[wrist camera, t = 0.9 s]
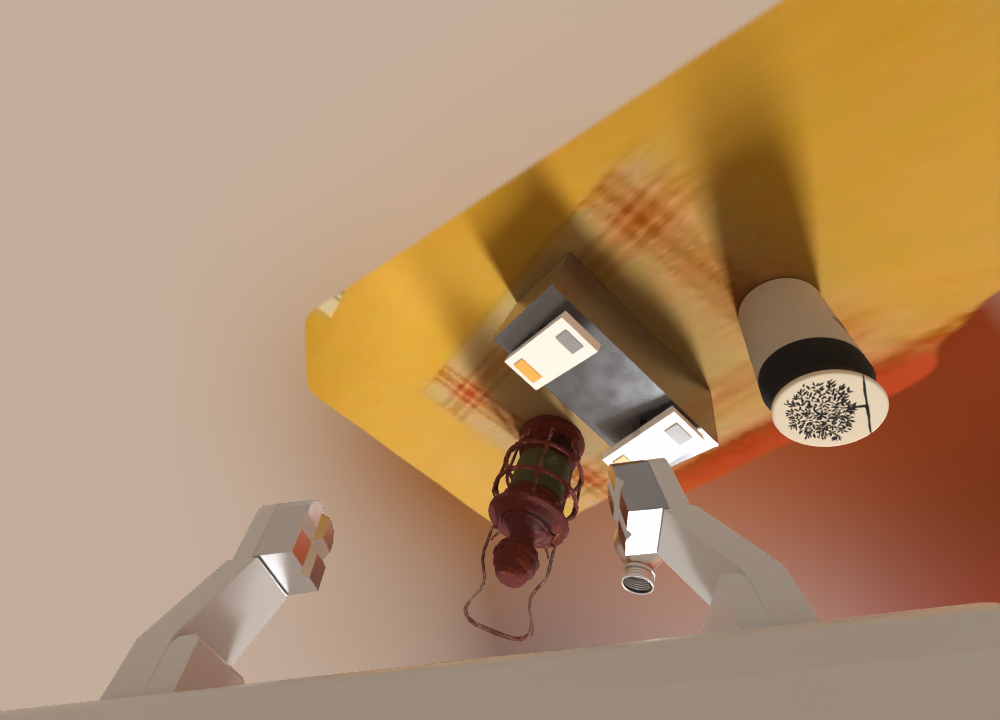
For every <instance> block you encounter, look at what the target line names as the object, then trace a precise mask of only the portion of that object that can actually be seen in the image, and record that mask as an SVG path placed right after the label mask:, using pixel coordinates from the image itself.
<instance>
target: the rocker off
mask: <svg viewBox="0 0 1000 720" xmlns="http://www.w3.org/2000/svg"><path fill="white" fill-rule="evenodd" d="M704 442H705V439H704V437H703V435H702V434H701V433H700V432H699V431H698V430H697V429H696V428H695V427H694V426H693V425H692V424H691V423H690V422H689V421H688V420H687V419H686V418H685V417H684V416H683V415H682V414H681V413H680V412H679V411H677V410H676V409H675V408H674V407H673V406H671V407H669V408H668V409H666V410H665V411H664V412H662V413H661V414H659V415H658V416H656V417H655V418H653V419H652V420H650V421H649V422H647V423H646V424H644V425H643V426H642V427H640V428H639V429H637V430H636V431H634V432H633V433H631V434H630V435H628V436H627V437H625V438H624V439H622V440H621V441H620V442H618V443H617V444H615V445H614V446H612V447H611V448H609V449H608V450H606V451H605V452H603V453H602V460H603V461H604V462H605V463H606V464H607V465H608V466H609V464H615V463H622V462H630V461H637V460H647V459H655V458H663V457H664V458H665V459H666V460H667V461H668V463H671V462H672V461H674V460H676V459H677V458H679V457H681V456H682V455H684V454H686V453H687V452H689V451H690V450H692V449H694V448H695V447H697V446H699V445H700V444H702V443H704Z"/></svg>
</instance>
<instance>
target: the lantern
mask: <svg viewBox="0 0 1000 720" xmlns="http://www.w3.org/2000/svg"><path fill="white" fill-rule="evenodd" d="M584 448H585V444H584V439H583V437H582V435H581V433H580V431H579V430H578V429H577V428H576V427H575V426H574V425H572V424H571V423H570V422H568V421H566V420H564V419H562V418H560V417H555V416H547V415H543V416H537V417H534V418H532V419H530V420H528V421H527V422H526V423H525V424H524V425H523V427H522V429H521V432H520V439H519V442H516V443H515V444H514V445H512V446H511V447H510V448H509V449H508V451H507V452H506V455H505V457H504V462H503V466H502V468H501V471H500V473H499V474H498V475H497V477H496V479H495V482H494V483H493V485H494V486H493V489H492V493H493V496H494V498H493V499H492V501H491V502H490V505H489V510H488V512H489V517H490V519H491V521H492V523H493V525H494V526H491V529H490V531H489V534H488V537H487V540H486V543H485V545H484V548H483V551H482V556H481V562H482V569H483V582H482V585H481V587H480V589H479V590H478V591H477V592H476V593H475V594H474V595H473V596H472V597H471V598H470V599H469V600H468V602H467V603H466V604H465V606H464V614H465V616H466V618H467V619H468V621H469V622H470V623H472V624H473V625H474V626H475V627H478V628H480V629H482V630H485V631H487V632H489V633H491V634H494V635H497V636H500V637H503V638H506V639H509V640H512V641H523V640H526V639H528V638H529V637H530V636H532V634H533V621H532V614H531V609H530V607H531V600H532V598H533V596H534V594H535V593H536V592H537V590H538V589H539V588H540V587H541V586H542V585H543V584H544V583H545V582H546V580H547V578H548V576H549V574H550V570H551V566H552V562H553V558H554V554H555V550H556V547H555V546H558V545H559V544H561V543H563V542H564V540H565V539H566V537H567V536H568V531H569V526H568V521H570V520H572V519H573V518H575V516H576V514H577V513H578V509H579V506H578V501H579V496H580V490H581V487H582V485H583V483H584V473H583V469H582V467H581V465H580V463H579V461H580V460H581V456H582V455H583V452H584ZM515 450H516V451H515ZM518 450H519V454H520V458H519V460H518V462H517V465H515V466H512V465H513V463H514V460H515V458H516V455H517V452H518ZM514 451H515V453H514V455H513V458H512V460H511V462H510V465H509V463H508V461H509V457H510V455H511V453H512V452H514ZM576 466H577V468H578V470H579V473H580V474H579V481H578V484H577V486H576V487H575V488H574V489H572V487H571V486H570V485H571V483H570V482H571V477H572V472H573V470H574V469H575V467H576ZM504 468H505V470H504ZM514 470H515V471H514ZM511 471H514V474H512V473H511ZM504 474H506V483H507V486H508V488H507V489H505V491H504V492H503V493H501V494H499V491H498V484H499V481H500V478H501V477H502V476H503V475H504ZM509 477H510V478H511V483H509ZM568 491H569V492H568ZM576 492H577V496H576V494H575V493H576ZM570 496H572V498H573V500H574V506H573V510H572V513H571V514H570V515H569V516H568V517H567V518H565V516H564V514H563V511H564V507H565V503H566V499H567V497H570ZM493 528H494V529H495V528H496V529H498V532H497V533H496V534H495V535H494V536H493V537H495V536H497V535H498V534H499V532H501V533H502V534H503V535H504V536H506V537H507V538H505V539H502V540H501V541H500V542H499V544H498V545H496V546H495V548H494V551H493V554H494V559H493V565H494V566H495V573H496V576H497V578H498V580H499V581H500V582H501V583H503V584H505V585H506V586H508V587H511V588H519V587H522V586H524V585H525V583H526V582H527V581H528V580H530V579H532V578H533V576H534V575H535V573H536V571H537V570H538V568H539V565H540V564H539V560H538V552H537V551H536V549H535V548H545V551H546V553H547V558H548V559H549V555H548V550H547V548H552V547H553V550H552V552H551V557H550V561H549V565H548V569H547V573H546V577H545V578H544V579H543V581H542V582H541V583H540V584H539V585H538V586H537V587H536V588H535V590H534V591H533V592H532V594H531V596H530V598H529V604H528V609H529V617H530V630H529V633H528V634H526V635H525V636H523V637H513V636H510V635H507V634H504V633H502V632H499V631H497V630H494V629H492V628H489V627H487V626H484V625H481V624H479V623H477V622H475V621H474V620H473V619H472V618H471V617H470V616H469V614H468V611H467V609H468V606H469V604H470V602H471V601H472V600H473V599H474V598H475V596H476V595H477V594H478V593H479V592H480V591H481V590H482V588H483V586H484V584H485V579H486V572H485V564H484V557H485V551H486V548H487V545H488V542H489V540H490V536H491V534H492V530H493ZM493 537H492V539H491V540H493Z"/></svg>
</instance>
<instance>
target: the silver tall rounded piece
mask: <svg viewBox="0 0 1000 720" xmlns="http://www.w3.org/2000/svg"><path fill="white" fill-rule="evenodd" d="M613 541H614V547H615V550H616V553H617V555H618V557H619V558H620V560H621V561H622V563H623V565H622V568H621V573H622V578H621V582H622V586H623V587H624V588H625V589H626V590H628V591H630V592H632V593H635V594H641V595H642V594H649V593H651V592H652V591H653V589H654V580H655V571H654V569H655V568H656V567H657V566H658V565H659V564H660V563H661V562H662V561H663V559H662V558H660V557H659V556H658V555H657V553H649V554H638V555H626V556H625V553H624V550H623V547H622V544H621V541H620V538H619V535H618V523H617V527H616V530H615V534H614V540H613Z"/></svg>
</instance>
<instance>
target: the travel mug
mask: <svg viewBox="0 0 1000 720" xmlns="http://www.w3.org/2000/svg"><path fill="white" fill-rule="evenodd" d="M738 319H739V324H740V327H741V330H742V333H743V337H744V340H745V343H746V346H747V350H748V353H749V356H750V360H751V363H752V366H753V369H754V373H755V376H756V379H757V382H758V386H759V389H760V392H761V395H762V399H763V401H764V403H765V404H766V406H767V407H768V408H769V409H770V410H771V416H772V420H773V422H774V424H775V426H776V427H777V429H778V430H779V431H780V432H781V433H782V434H784V435H785V436H786V437H788V438H790V439H792V440H794V441H796V442H799V443H802V444H806V445H811V446H822V447H824V446H825V447H828V446H838V445H844V444H848V443H851V442H854V441H857V440H859V439H861V438H863V437H865V436H867V435H869V434H870V433H872V432H873V431H874V430H876V429H877V428H878V427H879V426H880V425H881V423H882V422H883V421H884V419H885V417H886V415H887V412H888V408H889V402H888V397H887V394H886V392H885V390H884V389H883V388H882V386H881V385H880V384H879V383H877V382H876V374H875V371H874V369H873V367H872V365H871V364H870V363H869V361H868V360H867V358H866V357H865V356H864V354H863V353H862V351H861V350H860V349H859V347H858V346H857V344H856V343H855V342H854V340H853V339H852V337H851V336H850V335H849V333H848V332H847V330H846V329H845V328H844V326H843V325H842V324H841V322H840V321H839V319H838V318H837V317H836V315H835V314H834V312H833V311H832V310H831V308H830V307H829V305H828V304H827V303H826V301H825V300H824V298H823V297H822V296H821V294H820V293H819V291H818V290H817V289H816V288H815V287H814V286H813V285H811V284H810V283H808V282H806V281H803V280H800V279H795V278H780V279H774V280H771V281H768V282H765V283H763V284H761V285H759V286H757V287H756V288H754V289H753V290H752V291H751V292H750V293H748V295H747V296H746V297H745V298H744V300H743V301H742V303H741V305H740V308H739V312H738Z"/></svg>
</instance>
